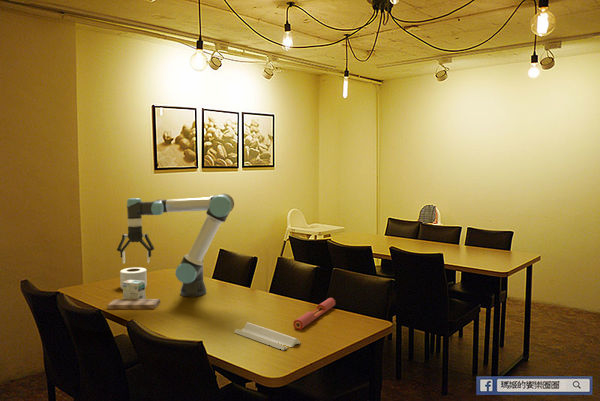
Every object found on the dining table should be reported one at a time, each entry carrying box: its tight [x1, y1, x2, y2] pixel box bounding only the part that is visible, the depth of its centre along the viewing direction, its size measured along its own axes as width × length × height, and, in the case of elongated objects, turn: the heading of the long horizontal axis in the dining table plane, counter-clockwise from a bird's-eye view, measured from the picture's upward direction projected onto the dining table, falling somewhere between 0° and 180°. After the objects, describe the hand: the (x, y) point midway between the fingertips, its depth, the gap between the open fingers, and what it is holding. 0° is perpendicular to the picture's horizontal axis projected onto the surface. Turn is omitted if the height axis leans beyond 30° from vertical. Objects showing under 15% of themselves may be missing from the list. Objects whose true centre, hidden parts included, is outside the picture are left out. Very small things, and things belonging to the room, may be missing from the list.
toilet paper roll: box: [119, 267, 148, 290], centre depth 303 cm, size 16×15×11 cm
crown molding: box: [233, 321, 302, 351], centre depth 217 cm, size 31×12×4 cm, turn 48°
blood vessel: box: [292, 297, 336, 331], centre depth 247 cm, size 42×5×5 cm, turn 154°
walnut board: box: [107, 298, 161, 310], centre depth 263 cm, size 25×11×2 cm, turn 92°
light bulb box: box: [122, 280, 147, 299], centre depth 274 cm, size 11×7×11 cm, turn 72°
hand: (136, 262), depth 274 cm, fingers open, 13 cm apart
